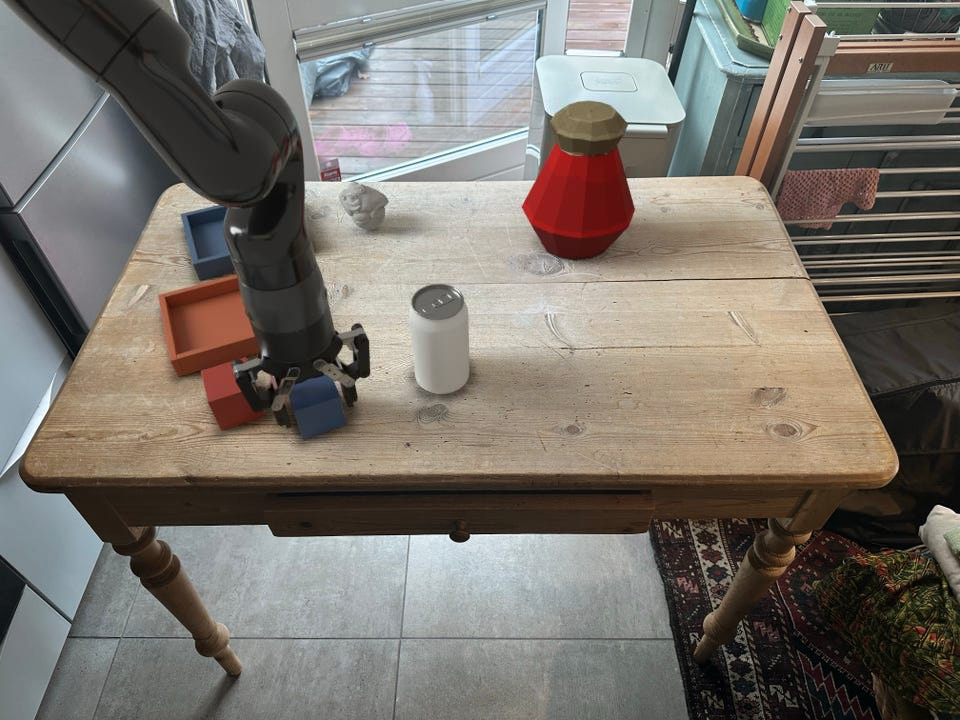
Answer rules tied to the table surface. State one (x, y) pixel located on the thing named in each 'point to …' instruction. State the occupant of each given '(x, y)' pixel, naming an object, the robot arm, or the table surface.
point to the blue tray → (207, 241)
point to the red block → (227, 397)
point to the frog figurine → (364, 205)
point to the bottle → (582, 184)
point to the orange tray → (206, 325)
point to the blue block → (317, 406)
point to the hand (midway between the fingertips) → (318, 412)
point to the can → (439, 338)
